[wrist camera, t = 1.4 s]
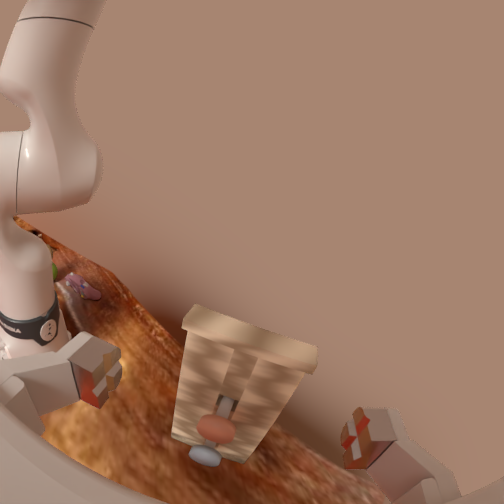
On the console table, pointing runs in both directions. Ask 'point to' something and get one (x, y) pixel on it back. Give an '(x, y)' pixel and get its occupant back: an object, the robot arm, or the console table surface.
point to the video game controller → (82, 287)
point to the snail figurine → (52, 261)
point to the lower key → (205, 454)
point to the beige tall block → (236, 378)
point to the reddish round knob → (218, 424)
